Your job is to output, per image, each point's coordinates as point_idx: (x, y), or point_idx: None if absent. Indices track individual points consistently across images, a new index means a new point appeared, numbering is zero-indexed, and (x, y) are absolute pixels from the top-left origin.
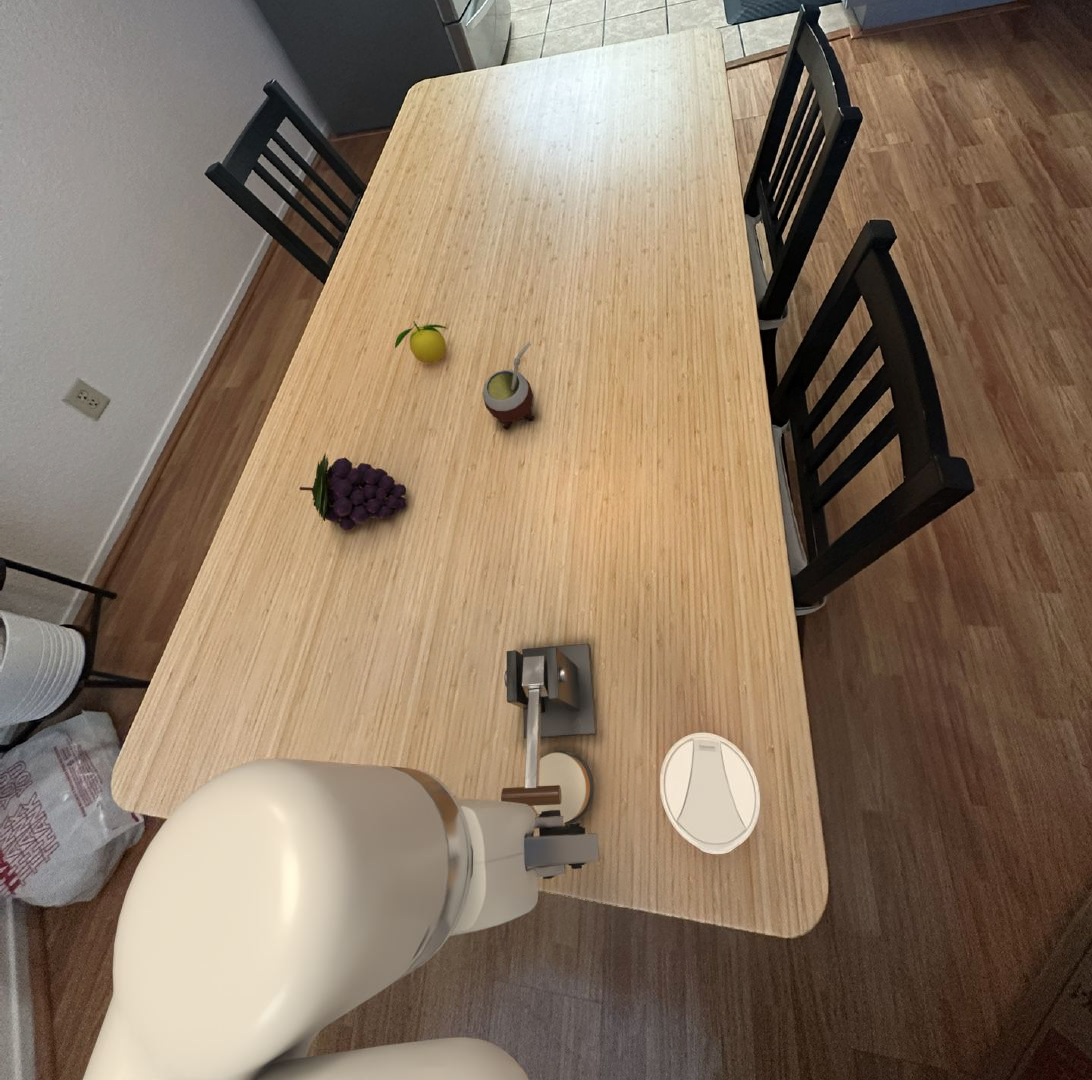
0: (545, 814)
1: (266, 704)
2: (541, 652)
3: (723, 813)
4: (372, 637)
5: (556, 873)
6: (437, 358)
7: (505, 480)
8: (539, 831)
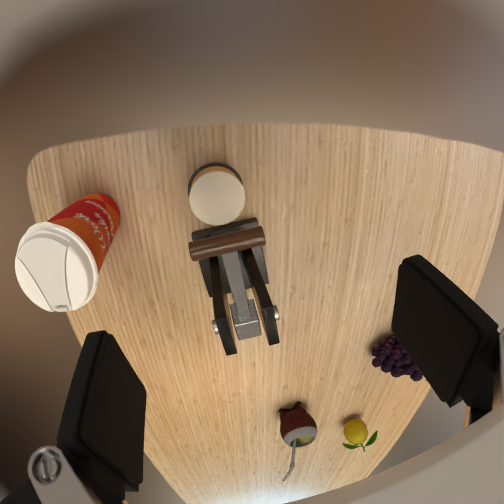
0: (128, 489)
1: (454, 208)
2: (250, 284)
3: (34, 262)
4: (392, 263)
5: (38, 494)
6: (349, 425)
7: (296, 377)
8: (128, 474)
